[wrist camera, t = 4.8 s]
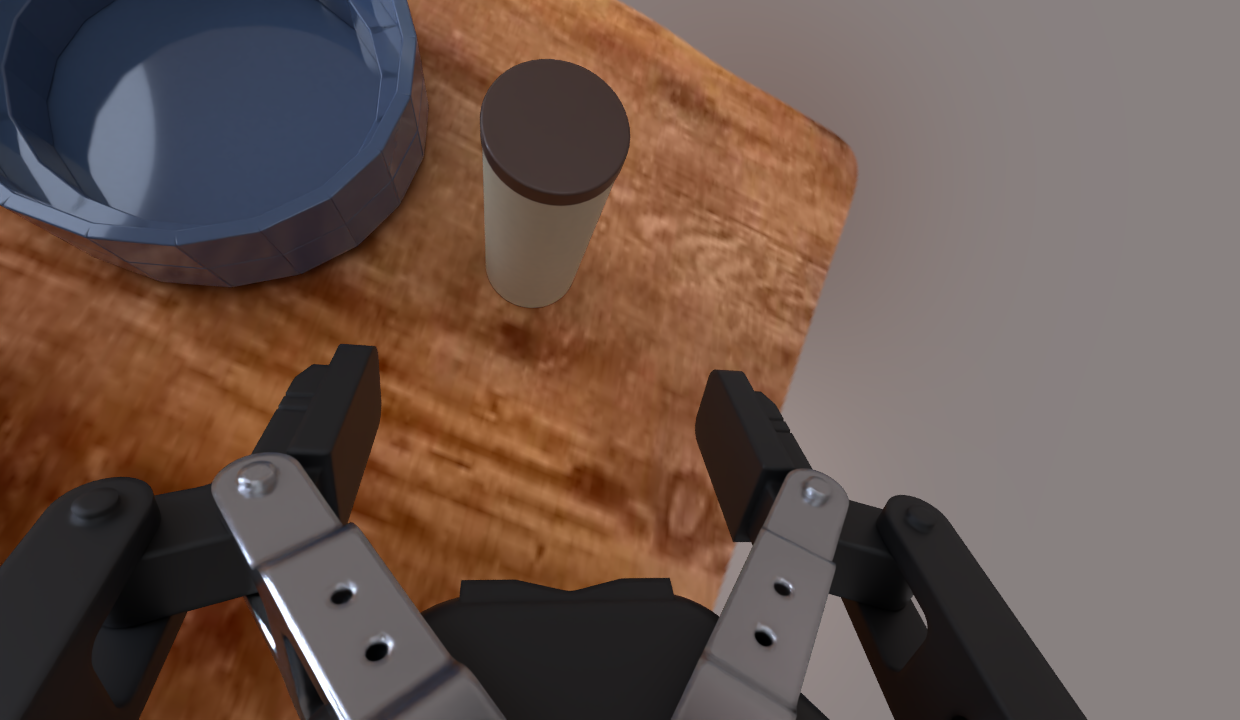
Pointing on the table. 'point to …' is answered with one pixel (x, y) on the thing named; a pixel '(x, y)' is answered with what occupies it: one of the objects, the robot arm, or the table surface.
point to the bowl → (209, 129)
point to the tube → (546, 174)
